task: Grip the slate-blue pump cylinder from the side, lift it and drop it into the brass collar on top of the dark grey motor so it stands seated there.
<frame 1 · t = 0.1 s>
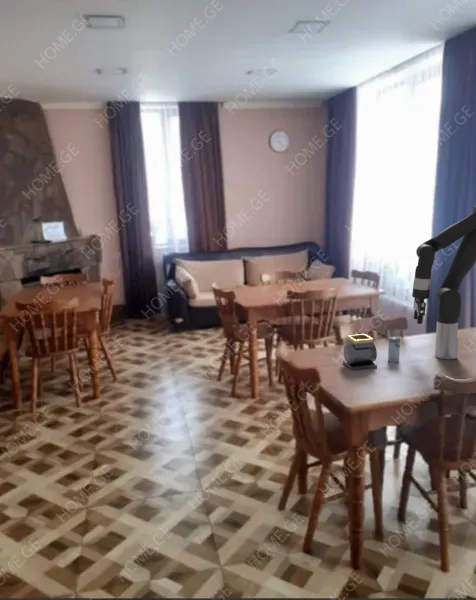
hand: (417, 321, 237), 17 cm above the table, tool pointing down, fingers open, 8 cm apart
pump: (393, 360, 235), on the table
motor: (359, 365, 231), on the table
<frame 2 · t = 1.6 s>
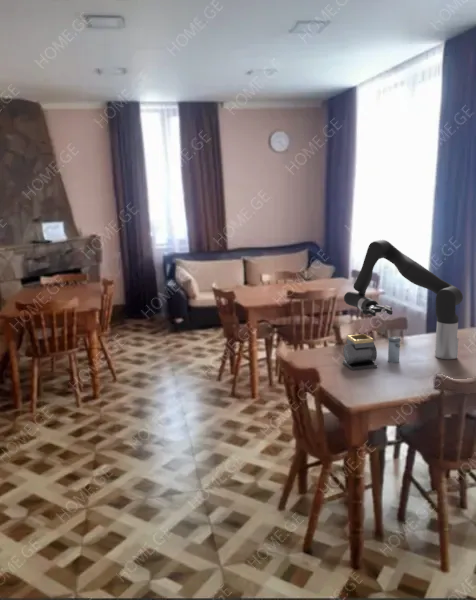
hand: (383, 313, 241), 20 cm above the table, tool horizontal, fingers open, 8 cm apart
nothing on the table moved.
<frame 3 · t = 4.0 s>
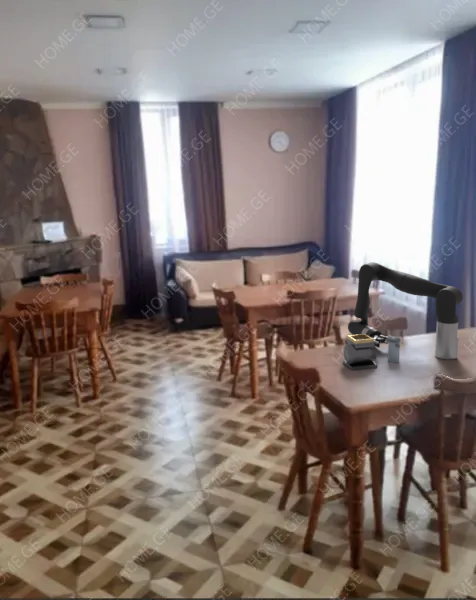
hand: (387, 344, 240), 6 cm above the table, tool horizontal, fingers open, 8 cm apart
nothing on the table moved.
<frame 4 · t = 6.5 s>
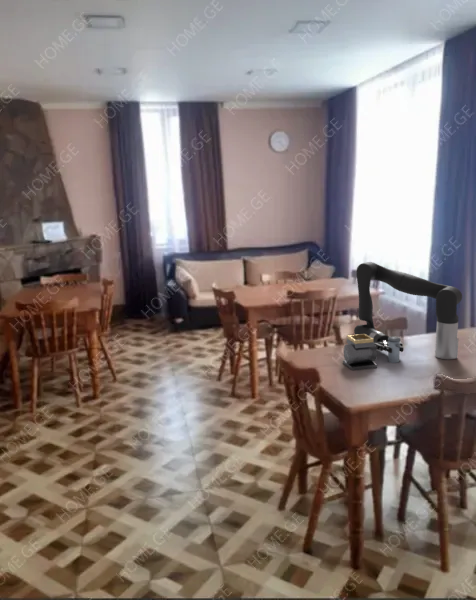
hand: (396, 350, 231), 6 cm above the table, tool horizontal, fingers closed on pump, 5 cm apart
pump: (393, 360, 235), on the table, touching gripper
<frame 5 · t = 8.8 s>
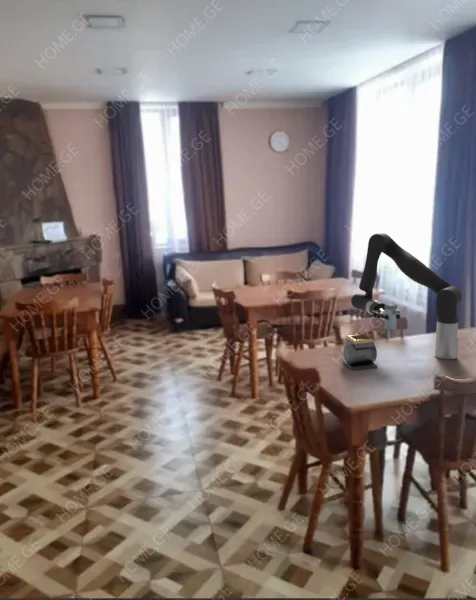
hand: (393, 317, 228), 22 cm above the table, tool horizontal, fingers closed on pump, 5 cm apart
pump: (390, 328, 232), point 16 cm above the table, touching gripper
when the fingers open (19 cm above the table, at t = 11.2 s): pump stays where it is, resting on motor.
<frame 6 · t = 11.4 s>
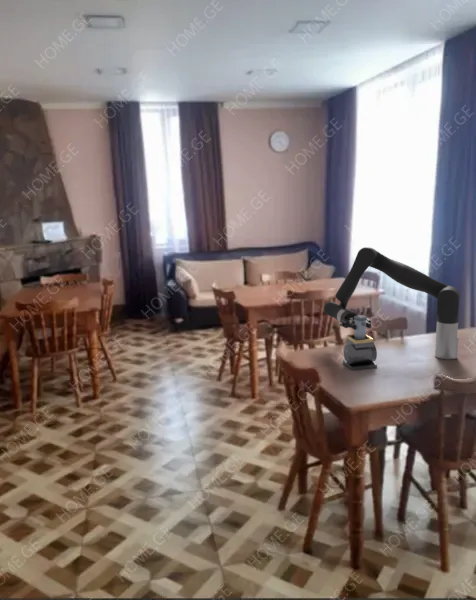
hand: (362, 326, 224), 19 cm above the table, tool horizontal, fingers open, 6 cm apart
pump: (360, 340, 228), point 12 cm above the table, touching motor
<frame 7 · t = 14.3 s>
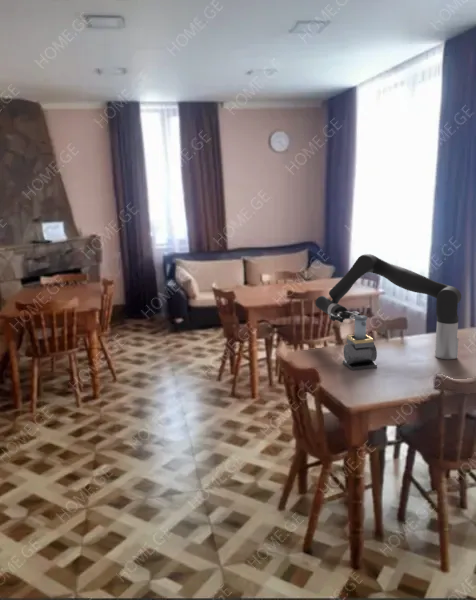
hand: (350, 319, 237), 19 cm above the table, tool horizontal, fingers open, 8 cm apart
nothing on the table moved.
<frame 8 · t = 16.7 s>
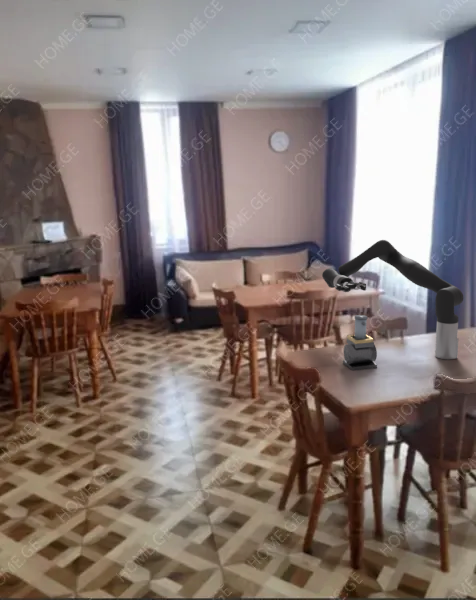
hand: (356, 289, 242), 32 cm above the table, tool horizontal, fingers open, 8 cm apart
nothing on the table moved.
at the end: pump 0.1 cm off-centre on the motor, point 12.1 cm above the motor's base; pump tilted 2°; the gripper is holding nothing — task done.
